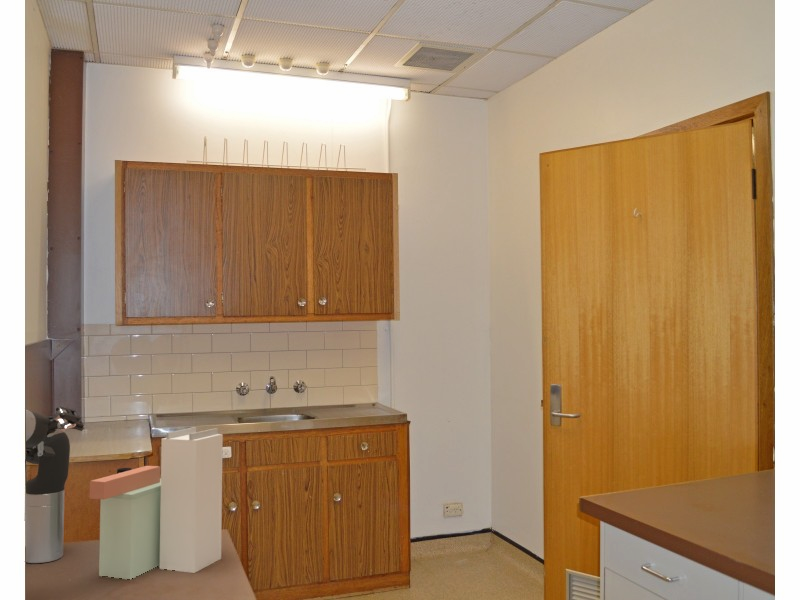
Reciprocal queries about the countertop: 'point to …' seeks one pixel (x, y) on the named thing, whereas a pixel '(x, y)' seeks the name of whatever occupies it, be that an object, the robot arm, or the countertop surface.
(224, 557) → the countertop surface
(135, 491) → the pale mint green block
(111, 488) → the long salmon orange block
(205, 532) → the stand
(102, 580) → the countertop surface
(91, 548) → the countertop surface
